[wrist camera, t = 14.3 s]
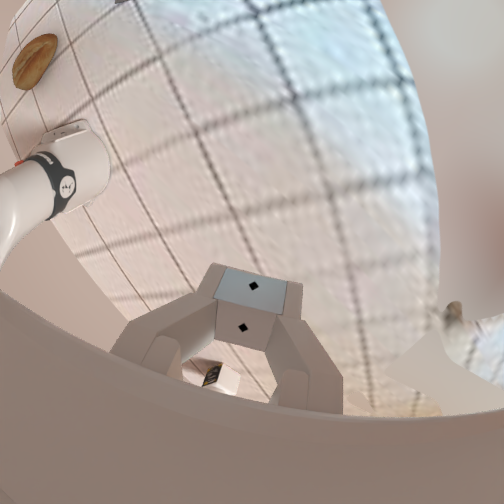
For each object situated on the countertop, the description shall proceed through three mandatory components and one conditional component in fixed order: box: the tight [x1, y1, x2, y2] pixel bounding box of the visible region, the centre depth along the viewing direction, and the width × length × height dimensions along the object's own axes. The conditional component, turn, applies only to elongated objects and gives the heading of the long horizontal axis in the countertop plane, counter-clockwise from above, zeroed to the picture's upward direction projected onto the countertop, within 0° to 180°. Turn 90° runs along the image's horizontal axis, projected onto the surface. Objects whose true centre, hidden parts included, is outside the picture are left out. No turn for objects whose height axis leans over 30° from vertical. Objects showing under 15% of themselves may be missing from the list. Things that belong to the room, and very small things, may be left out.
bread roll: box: [12, 34, 57, 90], centre depth 31 cm, size 10×15×8 cm, turn 125°
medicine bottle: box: [202, 363, 241, 396], centre depth 68 cm, size 7×7×12 cm
